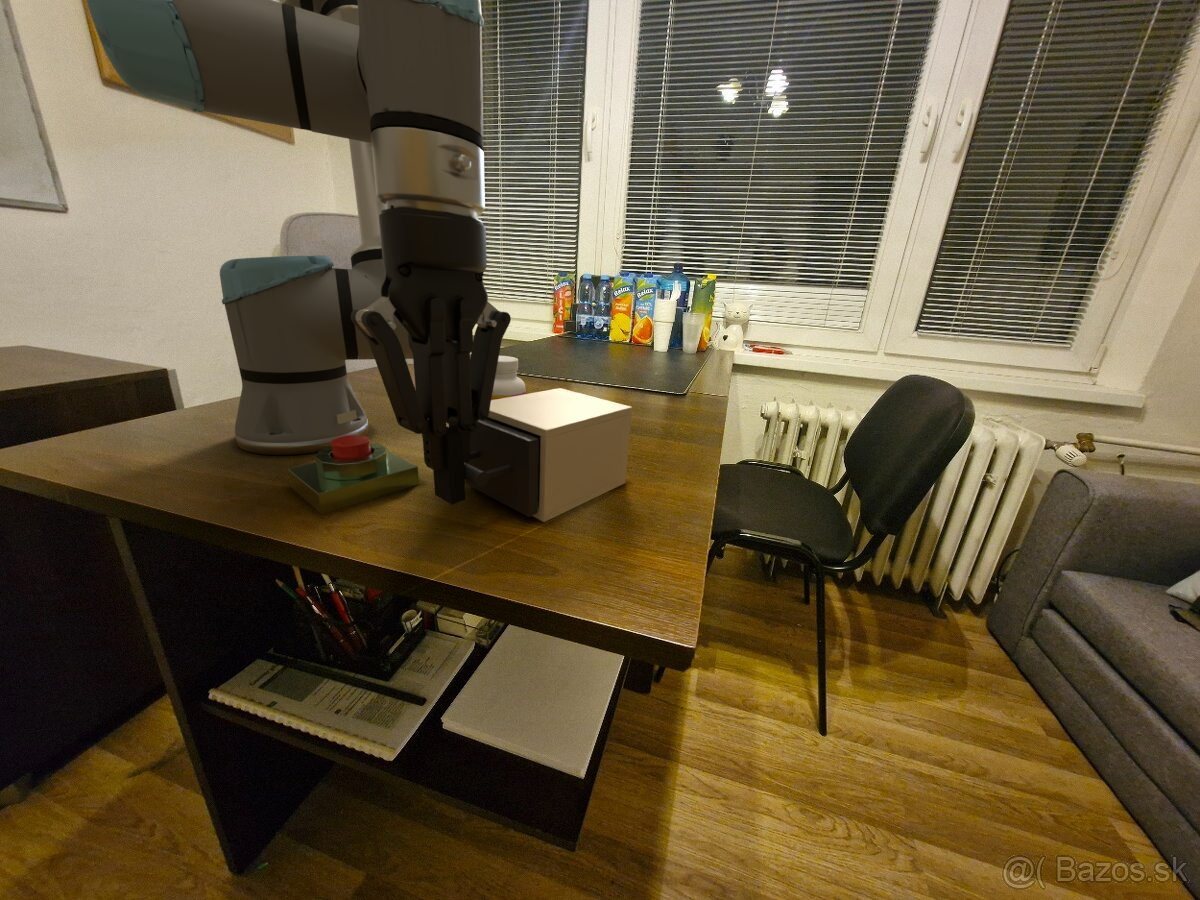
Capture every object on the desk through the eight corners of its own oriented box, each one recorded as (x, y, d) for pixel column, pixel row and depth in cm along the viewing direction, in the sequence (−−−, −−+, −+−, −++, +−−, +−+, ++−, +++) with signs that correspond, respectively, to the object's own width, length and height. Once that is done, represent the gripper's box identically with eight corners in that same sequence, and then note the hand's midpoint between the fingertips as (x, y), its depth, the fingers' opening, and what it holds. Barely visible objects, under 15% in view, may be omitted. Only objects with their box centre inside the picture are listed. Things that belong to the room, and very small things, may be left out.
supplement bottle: (514, 464, 56) (513, 364, 52) (466, 457, 57) (462, 359, 53) (531, 447, 63) (533, 357, 58) (488, 441, 64) (486, 352, 59)
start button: (327, 455, 46) (325, 439, 46) (362, 447, 49) (360, 432, 48) (342, 464, 44) (339, 448, 44) (377, 456, 47) (376, 440, 46)
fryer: (544, 522, 43) (546, 430, 40) (473, 485, 50) (470, 403, 47) (625, 483, 53) (632, 406, 50) (557, 456, 60) (559, 387, 57)
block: (291, 487, 47) (284, 452, 45) (384, 464, 54) (381, 433, 53) (321, 514, 42) (314, 476, 41) (419, 484, 49) (416, 451, 48)
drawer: (492, 534, 39) (490, 452, 36) (428, 495, 45) (423, 423, 42) (608, 481, 51) (614, 417, 49) (546, 456, 57) (548, 398, 55)
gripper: (367, 191, 26) (403, 539, 34) (533, 225, 35) (530, 489, 43) (316, 199, 30) (359, 506, 38) (476, 227, 40) (483, 467, 48)
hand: (450, 497), depth 41 cm, fingers closed
